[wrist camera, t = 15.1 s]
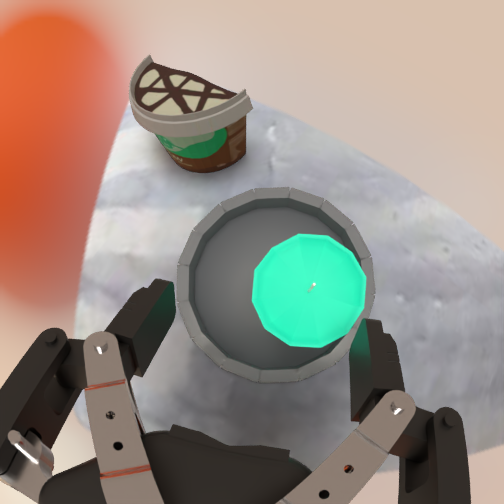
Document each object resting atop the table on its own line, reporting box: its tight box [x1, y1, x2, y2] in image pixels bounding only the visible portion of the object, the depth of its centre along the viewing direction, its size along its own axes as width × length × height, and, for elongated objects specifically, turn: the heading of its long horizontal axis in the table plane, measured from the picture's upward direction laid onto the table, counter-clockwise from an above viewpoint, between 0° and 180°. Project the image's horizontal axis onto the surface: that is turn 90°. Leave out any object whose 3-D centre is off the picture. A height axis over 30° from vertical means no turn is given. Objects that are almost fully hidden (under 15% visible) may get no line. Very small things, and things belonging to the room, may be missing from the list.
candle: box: [252, 234, 366, 348], centre depth 19 cm, size 6×6×12 cm
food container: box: [129, 55, 253, 173], centre depth 26 cm, size 12×6×10 cm, turn 54°
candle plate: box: [177, 187, 375, 383], centre depth 25 cm, size 16×16×3 cm
